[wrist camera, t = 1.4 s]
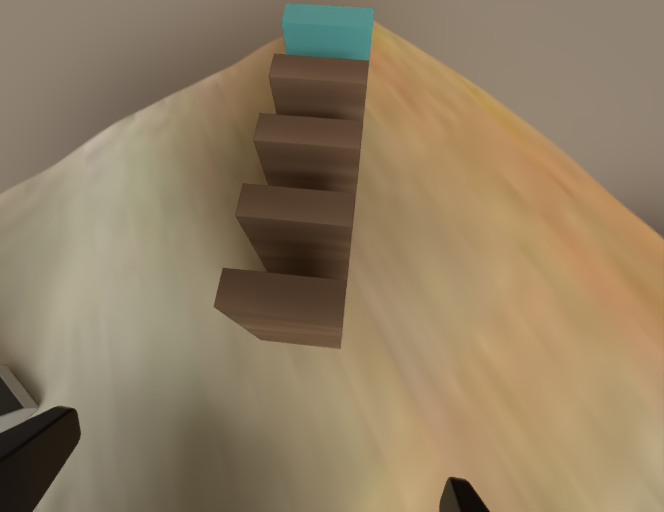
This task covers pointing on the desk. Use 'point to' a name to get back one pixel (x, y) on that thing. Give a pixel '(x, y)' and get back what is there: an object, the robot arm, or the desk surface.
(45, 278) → the desk surface
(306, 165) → the domino
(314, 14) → the domino
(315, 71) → the domino
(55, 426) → the robot arm
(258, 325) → the domino
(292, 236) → the domino
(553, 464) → the desk surface
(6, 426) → the vintage mobile phone
